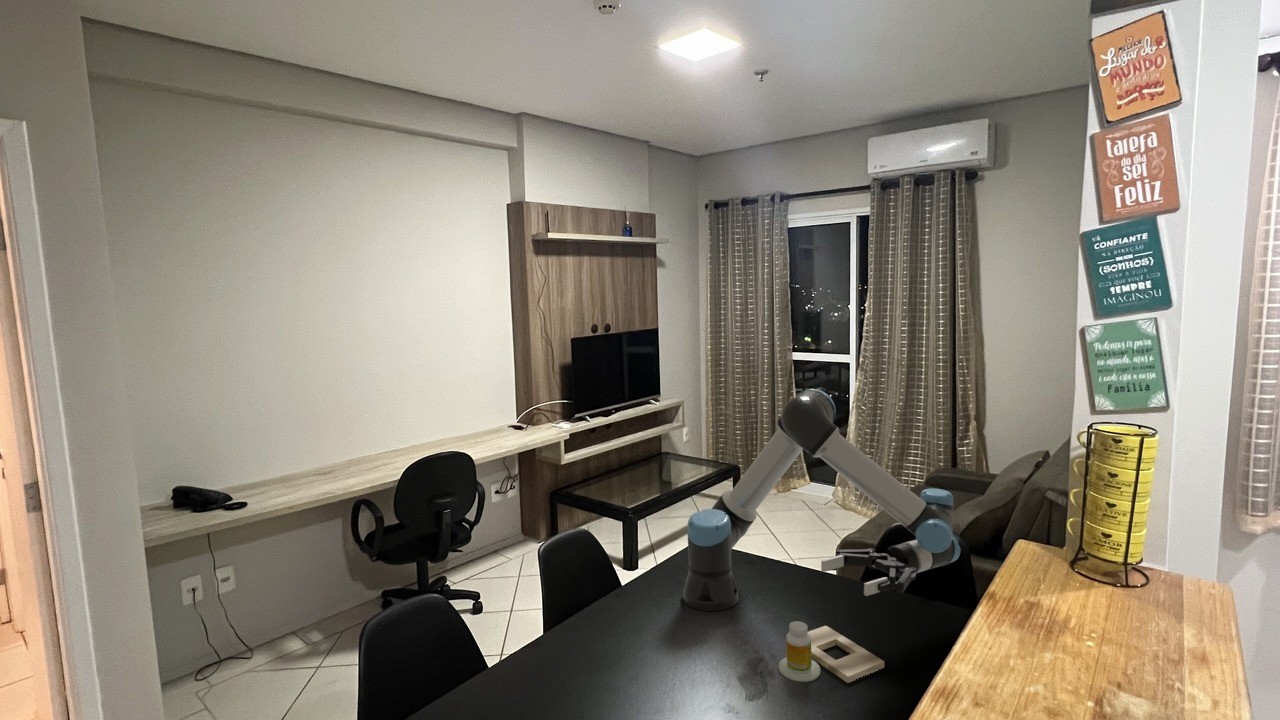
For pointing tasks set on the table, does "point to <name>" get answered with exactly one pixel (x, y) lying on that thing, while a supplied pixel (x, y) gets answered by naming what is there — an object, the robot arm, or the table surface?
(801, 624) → the supplement bottle
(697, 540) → the robot arm
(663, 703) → the table surface
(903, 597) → the table surface
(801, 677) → the pale green oval pebble
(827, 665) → the socket plate
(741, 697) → the table surface
